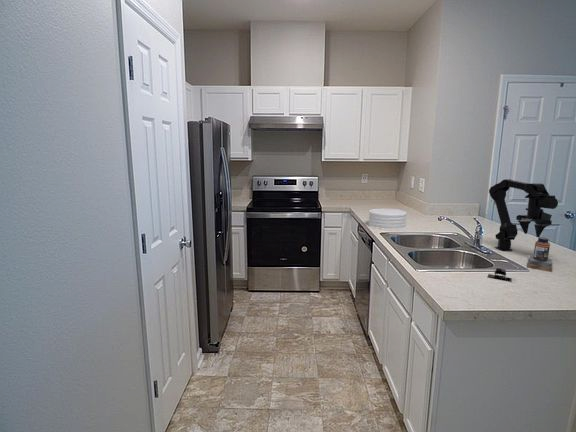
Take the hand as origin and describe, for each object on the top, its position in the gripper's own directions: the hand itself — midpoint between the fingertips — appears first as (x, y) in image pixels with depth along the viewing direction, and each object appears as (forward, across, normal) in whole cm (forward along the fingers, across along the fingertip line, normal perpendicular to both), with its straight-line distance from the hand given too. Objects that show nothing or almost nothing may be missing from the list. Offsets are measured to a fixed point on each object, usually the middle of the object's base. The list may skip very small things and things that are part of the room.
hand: (531, 235), depth 179 cm
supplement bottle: (+10, -13, +4) cm, 17 cm away
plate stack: (+8, +79, +55) cm, 97 cm away
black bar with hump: (+15, -28, +34) cm, 46 cm away
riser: (+14, -13, +4) cm, 20 cm away
